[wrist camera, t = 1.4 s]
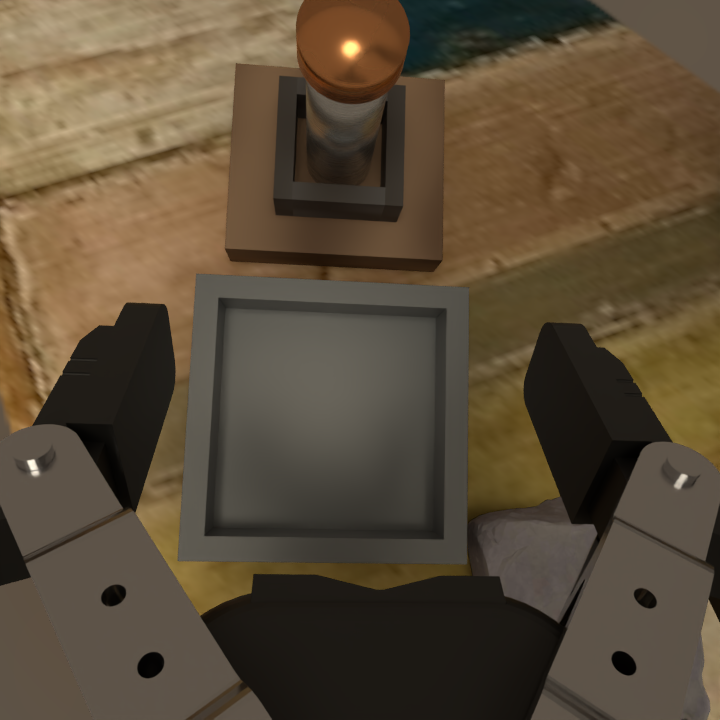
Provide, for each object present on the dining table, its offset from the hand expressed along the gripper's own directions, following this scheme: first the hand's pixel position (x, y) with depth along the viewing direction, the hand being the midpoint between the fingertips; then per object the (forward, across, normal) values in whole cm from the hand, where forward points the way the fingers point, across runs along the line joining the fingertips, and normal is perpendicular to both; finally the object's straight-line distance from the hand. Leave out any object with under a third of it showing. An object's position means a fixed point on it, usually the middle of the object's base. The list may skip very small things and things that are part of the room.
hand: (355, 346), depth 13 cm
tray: (+10, 0, +12) cm, 16 cm away
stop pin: (+17, 0, +2) cm, 18 cm away
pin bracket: (+19, 0, +4) cm, 19 cm away
